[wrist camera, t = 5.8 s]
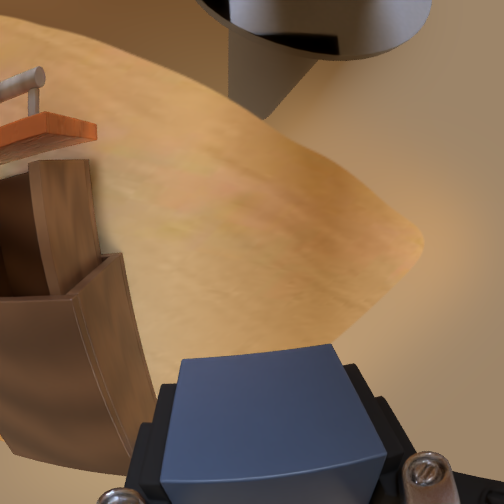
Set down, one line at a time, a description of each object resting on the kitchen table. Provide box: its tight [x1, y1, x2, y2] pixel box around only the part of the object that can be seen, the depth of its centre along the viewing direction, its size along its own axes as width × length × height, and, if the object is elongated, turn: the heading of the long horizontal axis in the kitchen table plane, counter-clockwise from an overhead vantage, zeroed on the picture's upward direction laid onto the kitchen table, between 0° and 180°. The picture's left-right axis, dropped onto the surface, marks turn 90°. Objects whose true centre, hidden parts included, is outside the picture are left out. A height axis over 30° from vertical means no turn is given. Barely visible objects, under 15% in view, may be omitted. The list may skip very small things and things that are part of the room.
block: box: [160, 344, 387, 504], centre depth 8 cm, size 4×4×4 cm
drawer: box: [0, 66, 102, 297], centre depth 17 cm, size 18×11×7 cm, turn 4°
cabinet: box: [0, 253, 157, 476], centre depth 20 cm, size 15×13×9 cm
